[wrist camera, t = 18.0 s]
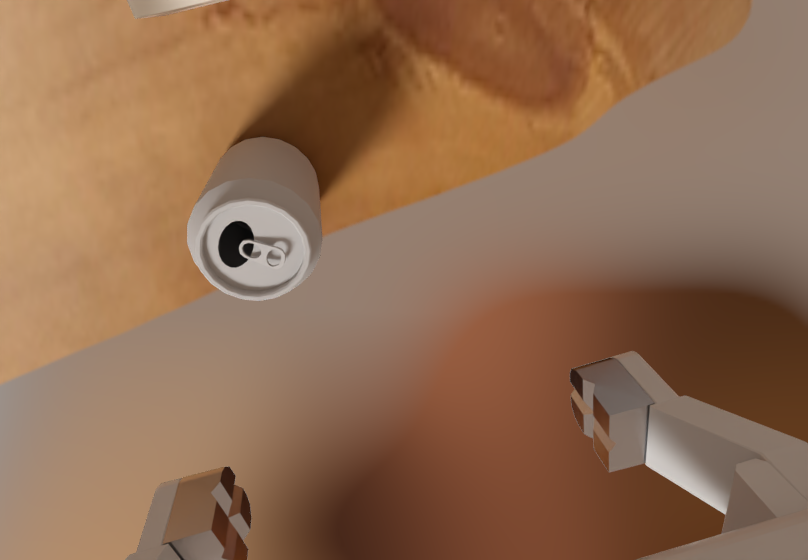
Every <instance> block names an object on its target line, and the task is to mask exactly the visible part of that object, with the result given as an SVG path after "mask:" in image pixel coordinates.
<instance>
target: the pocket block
mask: <svg viewBox="0 0 808 560" xmlns="http://www.w3.org/2000/svg"><path fill="white" fill-rule="evenodd" d="M127 1H128V4H129V6H130V8H131V10H132V13H133V15H134V17H135V19H138V18H148V17H157V16H165V15H169V14H173V13H177V12H182V11H186V10H190V9H194V8H198V7H202V6H206V5H210V4H215V3H219V2H223V1H227V0H127Z"/></svg>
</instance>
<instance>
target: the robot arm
mask: <svg viewBox="0 0 808 560" xmlns="http://www.w3.org/2000/svg"><path fill="white" fill-rule="evenodd" d="M570 382H571V384H572V385H573V387H574V388H575V390H574V391H573V393H572V394H571V404H572V409H573V413H574V416H575V418H576V421H577V423H578V425H579V427H580V428H581V430H582V431H583V433H584V434H585V435H587V436H589V437H591V438H593V439H594V450H595V452H596V453H597V455H598V456H599V458H600V460H601V461H602V462H603V464H604V466H605V467H606V469H607V470H608V472H613V471H616V470H620V469H624V468H628V467H632V466H635V465H640V464H643V463H646V466H648V467H650V468H651V469H653V470H654V471H656V472H658V473H659V474H661V475H663V476H664V477H666V478H667V479H669V480H671V481H672V482H674V483H675V484H677V485H679V486H680V487H682V488H683V489H685V490H687V491H688V492H690V493H692V494H693V495H695V496H696V497H698V498H700V499H701V500H703V501H705V502H706V503H708V504H709V505H711V506H712V507H714V508H716V509H717V510H719V511H721V512H722V513H724V514H725V515H726V516H725V520H724V525H723V530H722V534H720V535H717V536H713V537H710V538H707V539H703V540H700V541H697V542H693V543H691V544H687V545H684V546H680V547H677V548H673V549H670V550H667V551H664V552H660V553H657V554H654V555H650V556H647V557H643V558H640V559H637V560H808V443H807V442H804V441H802V440H799V439H796V438H794V437H792V436H789V435H786V434H783V433H781V432H779V431H776V430H773V429H771V428H768V427H766V426H763V425H761V424H758V423H755V422H753V421H750V420H748V419H744V418H742V417H740V416H737V415H735V414H732V413H729V412H727V411H724V410H722V409H719V408H717V407H714V406H711V405H708V404H706V403H704V402H701V401H698V400H696V399H693V398H691V397H688V396H682V397H679V396H678V395H677V394H676V393H675V392H674V391H673V390H672V389H671V388H670V387H669V386H668V385H667V384H666V383H665V382H664V381H663V380H662V379H661V377H660V376H659V375H658V374H657V373H656V372H655V371H654V370H653V369H652V368H651V367H650V366H649V365H648V364H647V363H646V362H645V361H644V360H643V359H642V357H641V356H640V355H639V354H638V353H636V352H634V351H631V352H627V353H624V354H620V355H617V356H614V357H612V358H607V359H603V360H600V361H596V362H593V363H589V364H586V365H583V366H579V367H576V368H572V369H571V371H570ZM234 483H235V474H234V473H233V471H232V470H231V468H230V467H222V468H218V469H214V470H210V471H206V472H202V473H198V474H194V475H191V476H186V477H183V478H180V479H176V480H173V481H168V482H164V483H161V484H160V485H159V487H158V488H157V489H156V491H155V494H154V497H153V501H152V504H151V507H150V510H149V513H148V517H147V520H146V523H145V526H144V529H143V532H142V535H141V539H140V542H139V545H138V548H137V552H136V553H133V554H130V555H129V556H128V557H127V558H126V559H125V560H247V556H248V548H247V546H246V545H245V543H244V542H243V540H244V538H245V537H246V536H247V534H248V533H249V531H250V528H251V510H250V503H249V500H248V497H247V495H246V493H245V491H244V489H243V488H241V487H239V486H236V485H234Z"/></svg>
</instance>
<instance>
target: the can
mask: <svg viewBox="0 0 808 560" xmlns="http://www.w3.org/2000/svg"><path fill="white" fill-rule="evenodd" d="M187 244H188V247H189V249H190V252H191V255H192V257H193V260H194V262H195V263H196V265H197V266H198V267H199V269H200V271H201V272H202V273H203V274H204V276H205V277H206V278H207V279H208V281H209V282H210V283H211V284H212V285H214V286H215V287H217V288H218V289H220V290H221V291H223V292H224V293H226V294H228V295H231V296H234V297H237V298H240V299H246V300H257V301H261V300H266V299H272V298H277V297H279V296H281V295H283V294H285V293H287V292H289V291H291V290H292V289H293V288H294V287H296V286H298V285H300V284H301V283H302V282H303V281H304V280H305V279H306V278H307V277H308V276H309V275H310V274H311V273H312V271H313V269H314V268H315V266H316V264H317V262H318V260H319V258H320V252H321V245H322V226H321V210H320V194H319V185H318V180H317V175H316V172H315V170H314V168H313V167H312V165H311V163H310V161H309V160H308V158H307V157H306V156H305V155H304V154H303V153H301V152H300V151H299V150H298V149H297V148H296V147H295V146H292V145H290V144H288V143H286V142H284V141H282V140H280V139H274V138H268V137H258V138H251V139H245V140H244V141H242V142H240V143H238V144H236V145H234V146H232V147H231V148H230V149H229V150H228V151H227V152H226V153H225V154H224V155H223V156H222V158H221V159H220V160H219V162H218V164H217V166H216V168H215V170H214V171H213V173H212V175H211V177H210V179H209V181H208V182H207V184H206V186H205V188H204V190H203V191H202V193H201V195H200V197H199V199H198V201H197V202H196V204H195V206H194V209H193V211H192V214H191V216H190V219H189V221H188V224H187Z"/></svg>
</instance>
